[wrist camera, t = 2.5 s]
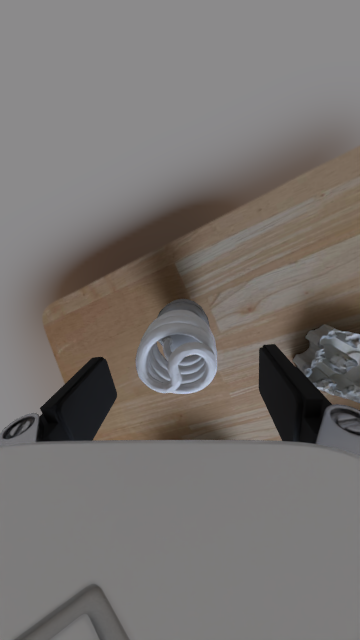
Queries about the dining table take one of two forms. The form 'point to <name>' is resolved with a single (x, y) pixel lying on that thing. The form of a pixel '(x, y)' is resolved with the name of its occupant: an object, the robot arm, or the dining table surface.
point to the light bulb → (178, 350)
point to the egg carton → (332, 362)
